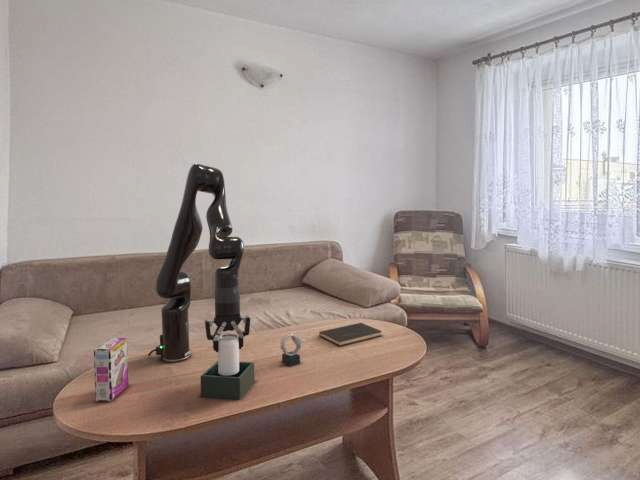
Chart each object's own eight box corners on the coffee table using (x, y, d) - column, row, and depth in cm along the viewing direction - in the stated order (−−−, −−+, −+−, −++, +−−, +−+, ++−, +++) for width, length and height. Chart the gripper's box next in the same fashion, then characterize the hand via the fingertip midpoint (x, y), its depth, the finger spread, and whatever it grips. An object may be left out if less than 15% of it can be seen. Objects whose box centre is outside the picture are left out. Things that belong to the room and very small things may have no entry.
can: (232, 377, 138) (232, 341, 137) (214, 375, 139) (213, 339, 138) (242, 369, 145) (242, 334, 143) (225, 367, 146) (224, 332, 144)
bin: (200, 396, 137) (200, 375, 136) (218, 379, 149) (218, 360, 148) (240, 399, 136) (239, 378, 135) (254, 381, 148) (254, 362, 147)
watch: (304, 362, 166) (304, 334, 164) (285, 367, 160) (285, 338, 159) (296, 357, 170) (296, 330, 168) (277, 362, 164) (277, 334, 163)
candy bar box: (112, 401, 132) (109, 349, 130) (95, 402, 132) (92, 349, 130) (129, 385, 143) (127, 337, 141) (113, 385, 143) (111, 337, 141)
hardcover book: (381, 336, 197) (381, 331, 197) (339, 346, 183) (339, 341, 183) (360, 326, 210) (360, 322, 209) (319, 336, 195) (319, 331, 195)
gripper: (248, 294, 145) (249, 343, 147) (202, 298, 139) (203, 348, 141) (252, 300, 139) (253, 350, 141) (204, 304, 132) (205, 357, 135)
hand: (228, 349), depth 141 cm, fingers closed on can, 6 cm apart
